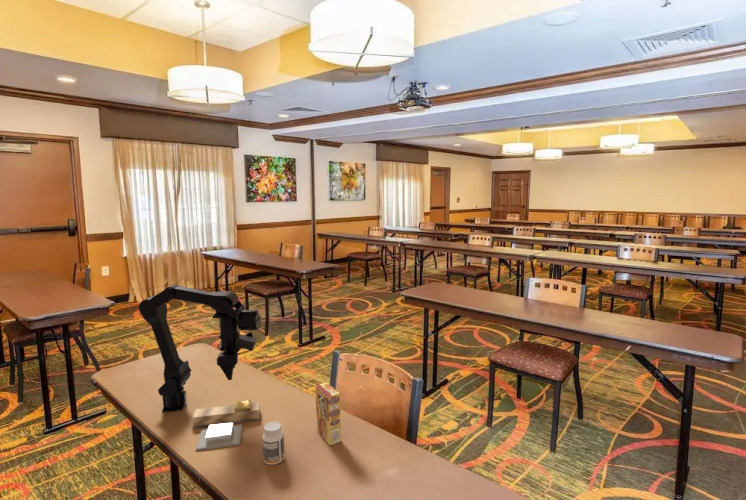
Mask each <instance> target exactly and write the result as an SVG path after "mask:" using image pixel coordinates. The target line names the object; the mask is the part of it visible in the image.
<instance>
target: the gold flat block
mask: <svg viewBox="0 0 746 500" xmlns="http://www.w3.org/2000/svg"><path fill="white" fill-rule="evenodd" d="M251 403H252V400H251V399H249V400H241V401H236V402H235V404H234V405H235V411H239V410H247V409H248V410H249V409H250V408H251Z"/></svg>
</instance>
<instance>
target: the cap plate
mask: <svg viewBox="0 0 746 500" xmlns="http://www.w3.org/2000/svg"><path fill="white" fill-rule="evenodd" d="M233 425H234V423H233V422H232V423H224V424H216V425H209V426H208V428H207V429H208V431H207V435H206V444H208V443H216V442H224V441H231V439H232V434H233V429H234V427H233Z"/></svg>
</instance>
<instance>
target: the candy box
mask: <svg viewBox="0 0 746 500" xmlns="http://www.w3.org/2000/svg"><path fill="white" fill-rule="evenodd" d="M315 407H316V425H317V426H316V427H317V430H316V431H317V433H318V434H319V435H320V436H321V437H322V439H323V440H324V441H325V442H326V443H327V444H328V445H329V446H332V445H335V444H338V443H341V442H342V422H341V421H342V419H341V393H340V392H339V391H338V390H336V388H334V387H333V386H332V385H331V384H330V383H328V382H323V383H320V384H316V385H315Z"/></svg>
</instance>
